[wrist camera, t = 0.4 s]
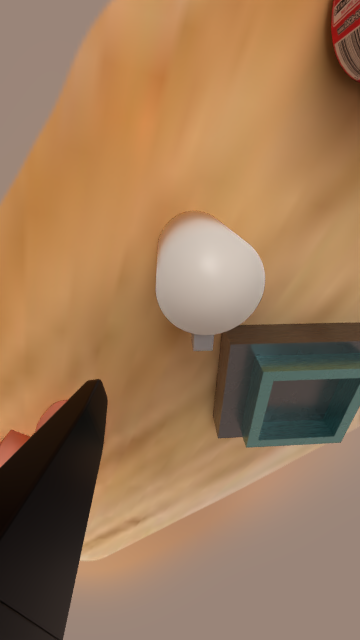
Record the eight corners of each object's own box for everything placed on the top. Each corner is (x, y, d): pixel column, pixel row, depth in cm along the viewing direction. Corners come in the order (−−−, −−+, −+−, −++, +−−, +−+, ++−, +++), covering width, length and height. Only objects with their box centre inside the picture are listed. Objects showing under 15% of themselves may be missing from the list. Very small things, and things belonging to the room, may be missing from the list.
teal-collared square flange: (367, 322, 24) (413, 354, 20) (329, 409, 30) (357, 449, 26) (222, 325, 23) (236, 360, 19) (212, 414, 29) (221, 456, 25)
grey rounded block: (232, 211, 18) (275, 232, 11) (222, 300, 22) (250, 358, 15) (156, 210, 18) (153, 232, 11) (159, 302, 22) (158, 361, 15)
